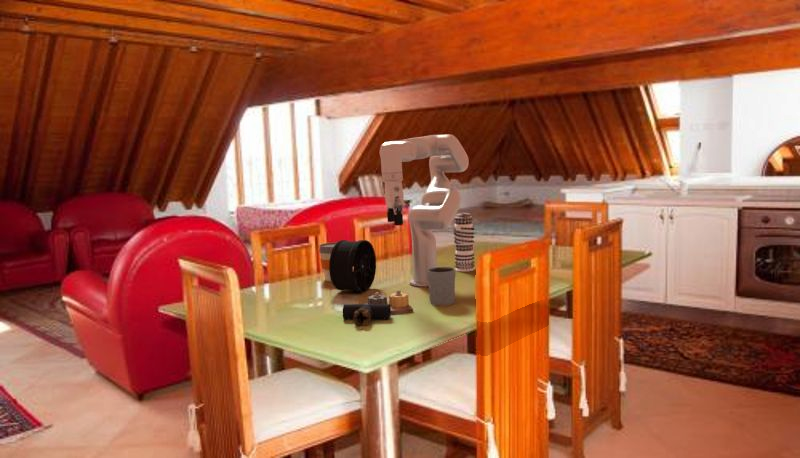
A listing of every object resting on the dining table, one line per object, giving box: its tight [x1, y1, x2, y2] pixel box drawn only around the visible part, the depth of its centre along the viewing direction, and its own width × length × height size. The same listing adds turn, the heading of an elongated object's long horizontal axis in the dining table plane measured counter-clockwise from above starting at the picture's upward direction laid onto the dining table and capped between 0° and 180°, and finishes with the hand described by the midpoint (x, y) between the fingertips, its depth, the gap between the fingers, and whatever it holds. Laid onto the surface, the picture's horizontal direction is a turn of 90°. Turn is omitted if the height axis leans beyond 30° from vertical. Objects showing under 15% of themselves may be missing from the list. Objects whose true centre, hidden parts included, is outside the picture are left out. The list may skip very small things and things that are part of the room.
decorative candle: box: [453, 212, 475, 272], centre depth 282 cm, size 9×9×25 cm
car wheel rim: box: [329, 239, 377, 293], centre depth 250 cm, size 20×10×20 cm, turn 156°
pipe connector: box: [342, 303, 392, 326], centre depth 207 cm, size 12×5×15 cm
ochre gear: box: [388, 292, 410, 308], centre depth 221 cm, size 6×6×4 cm
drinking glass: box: [427, 266, 456, 306], centre depth 226 cm, size 10×10×12 cm
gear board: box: [367, 289, 414, 315], centre depth 220 cm, size 14×13×6 cm
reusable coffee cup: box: [318, 241, 338, 282], centre depth 274 cm, size 12×13×15 cm
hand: (395, 223), depth 237 cm, fingers open, 9 cm apart
